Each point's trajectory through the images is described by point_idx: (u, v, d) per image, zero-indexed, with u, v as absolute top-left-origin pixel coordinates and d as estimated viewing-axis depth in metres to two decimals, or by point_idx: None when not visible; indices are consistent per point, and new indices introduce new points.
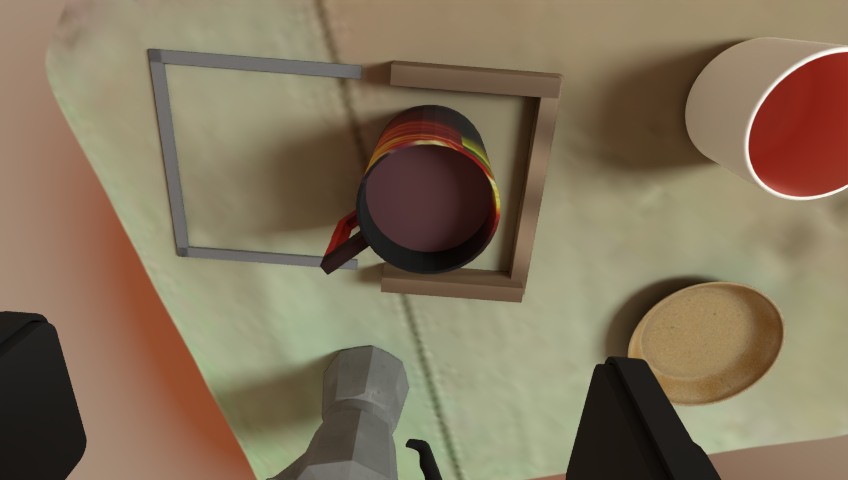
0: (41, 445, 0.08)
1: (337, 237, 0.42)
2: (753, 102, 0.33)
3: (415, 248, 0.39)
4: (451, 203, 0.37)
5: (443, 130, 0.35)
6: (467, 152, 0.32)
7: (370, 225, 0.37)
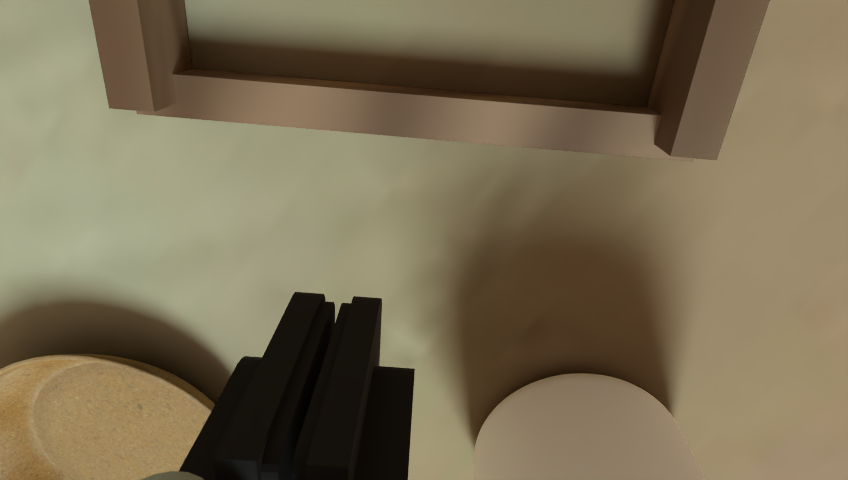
0: None
1: None
2: None
3: None
4: None
5: None
6: None
7: None
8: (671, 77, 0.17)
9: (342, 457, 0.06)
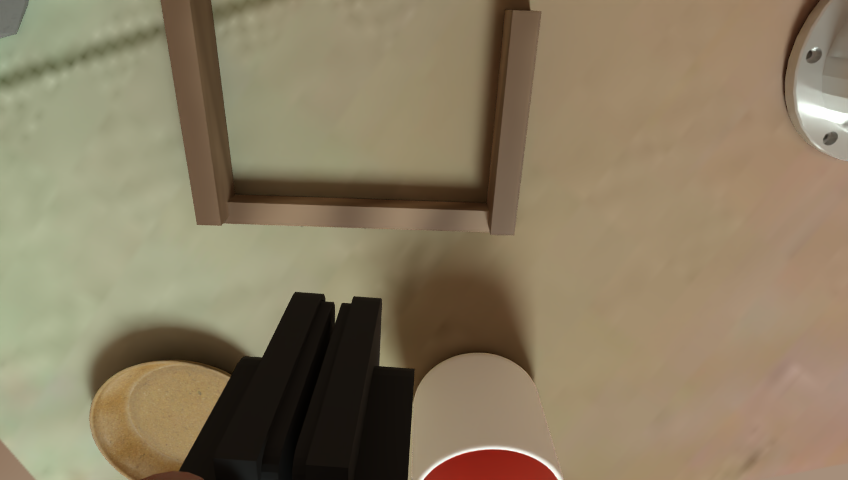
0: None
1: None
2: (515, 443, 0.31)
3: None
4: None
5: None
6: None
7: None
8: (490, 192, 0.33)
9: (342, 457, 0.06)
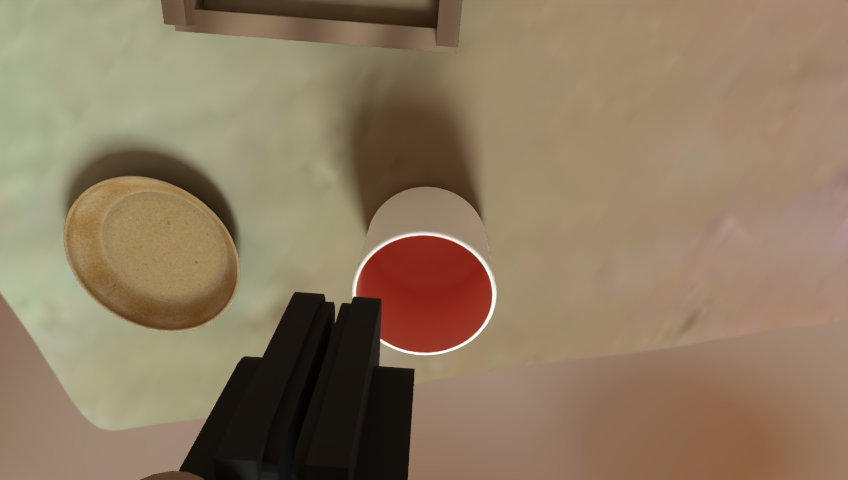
0: None
1: None
2: (447, 232, 0.34)
3: None
4: None
5: None
6: None
7: None
8: None
9: (342, 457, 0.06)
